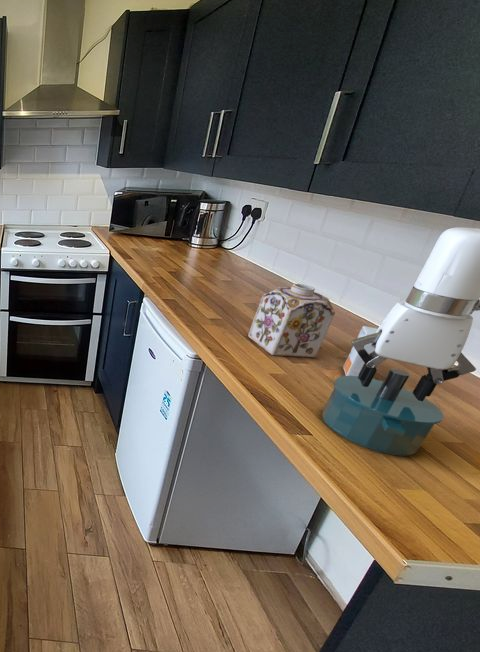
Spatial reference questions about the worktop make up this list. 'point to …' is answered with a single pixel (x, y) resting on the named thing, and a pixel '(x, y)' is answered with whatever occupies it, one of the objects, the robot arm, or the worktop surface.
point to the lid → (389, 398)
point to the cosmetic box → (354, 360)
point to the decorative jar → (292, 321)
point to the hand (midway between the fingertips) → (390, 389)
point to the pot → (373, 427)
